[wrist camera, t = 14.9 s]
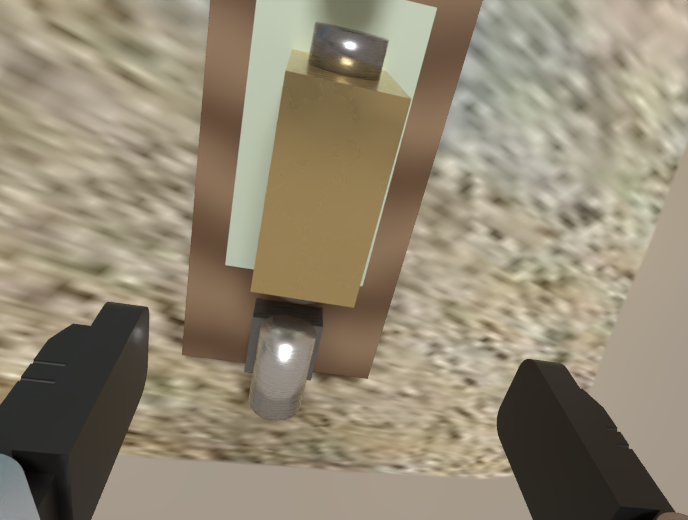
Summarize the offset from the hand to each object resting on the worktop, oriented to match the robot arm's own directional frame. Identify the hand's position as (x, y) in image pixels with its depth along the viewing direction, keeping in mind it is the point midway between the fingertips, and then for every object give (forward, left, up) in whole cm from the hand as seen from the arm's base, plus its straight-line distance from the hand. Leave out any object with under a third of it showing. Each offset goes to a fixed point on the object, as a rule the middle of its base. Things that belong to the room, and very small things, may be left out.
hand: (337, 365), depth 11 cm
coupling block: (0, 0, -17) cm, 17 cm away
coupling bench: (0, 0, -19) cm, 19 cm away
